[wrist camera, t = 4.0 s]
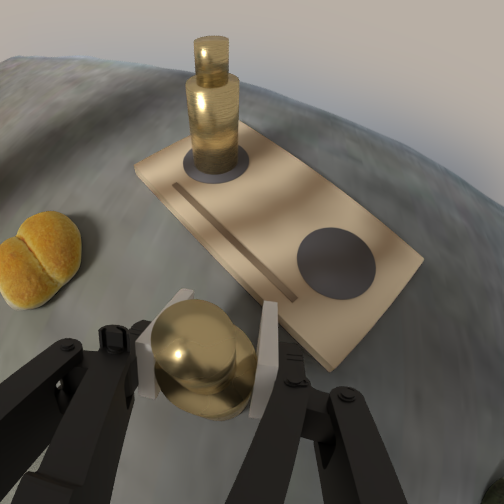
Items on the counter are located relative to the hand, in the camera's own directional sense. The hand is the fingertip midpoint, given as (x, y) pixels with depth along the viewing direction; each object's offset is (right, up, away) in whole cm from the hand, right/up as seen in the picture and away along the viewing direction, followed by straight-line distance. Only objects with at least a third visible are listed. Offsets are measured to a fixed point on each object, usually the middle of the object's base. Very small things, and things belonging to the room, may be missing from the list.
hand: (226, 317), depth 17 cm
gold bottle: (-2, +12, +10) cm, 16 cm away
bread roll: (-17, +2, +5) cm, 17 cm away
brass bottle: (-1, -5, +1) cm, 5 cm away
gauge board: (+3, +7, +8) cm, 11 cm away
